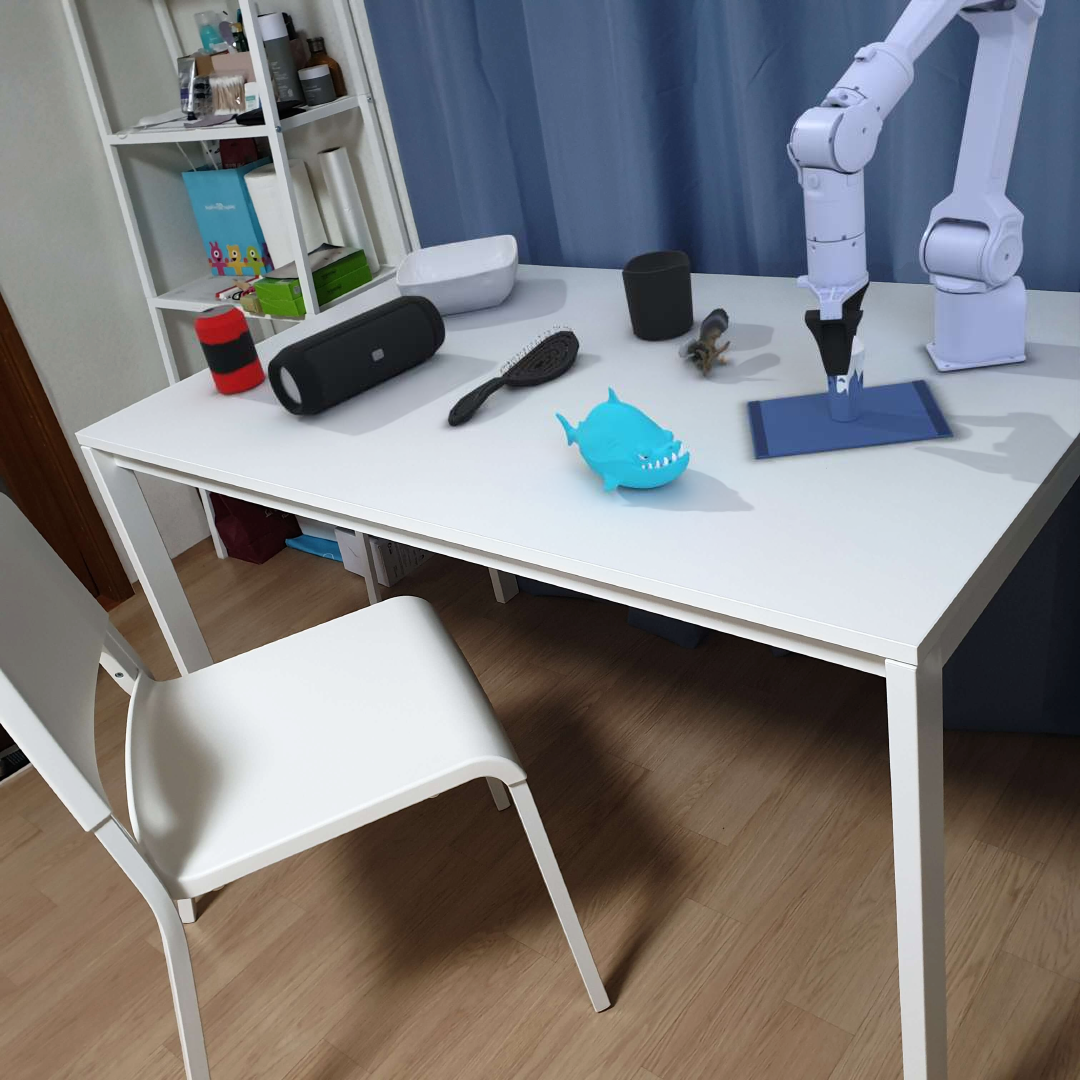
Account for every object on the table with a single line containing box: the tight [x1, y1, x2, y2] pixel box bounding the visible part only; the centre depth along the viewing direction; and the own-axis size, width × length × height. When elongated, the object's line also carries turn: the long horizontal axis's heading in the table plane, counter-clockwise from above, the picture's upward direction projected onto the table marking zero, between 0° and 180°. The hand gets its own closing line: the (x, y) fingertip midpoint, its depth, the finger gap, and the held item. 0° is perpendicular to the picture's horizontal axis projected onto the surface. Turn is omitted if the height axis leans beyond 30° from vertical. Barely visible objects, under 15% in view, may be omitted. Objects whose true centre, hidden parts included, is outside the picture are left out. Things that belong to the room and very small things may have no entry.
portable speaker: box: [267, 295, 446, 416], centre depth 150 cm, size 26×10×10 cm, turn 134°
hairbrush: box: [447, 325, 581, 427], centre depth 140 cm, size 8×4×25 cm
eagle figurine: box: [677, 308, 731, 377], centre depth 134 cm, size 8×7×9 cm
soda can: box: [193, 303, 266, 395], centre depth 160 cm, size 8×8×12 cm
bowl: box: [395, 234, 519, 317], centre depth 177 cm, size 20×20×8 cm
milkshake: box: [823, 335, 867, 422], centre depth 112 cm, size 4×5×10 cm
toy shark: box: [555, 386, 691, 492], centre depth 110 cm, size 10×18×11 cm, turn 45°
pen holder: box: [621, 250, 694, 342], centre depth 147 cm, size 9×9×10 cm
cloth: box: [746, 379, 954, 460], centre depth 115 cm, size 20×14×1 cm
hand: (840, 359), depth 112 cm, fingers open, 7 cm apart
